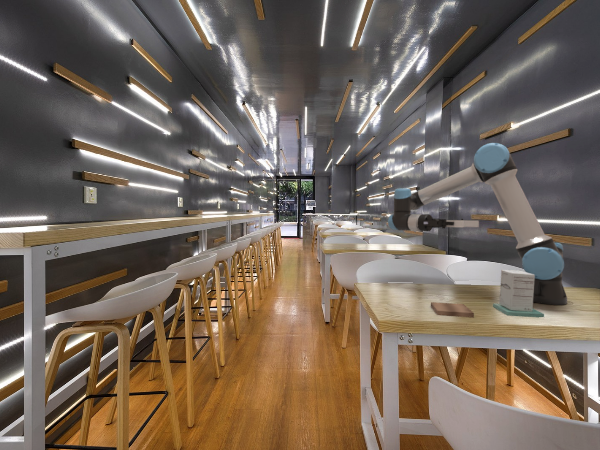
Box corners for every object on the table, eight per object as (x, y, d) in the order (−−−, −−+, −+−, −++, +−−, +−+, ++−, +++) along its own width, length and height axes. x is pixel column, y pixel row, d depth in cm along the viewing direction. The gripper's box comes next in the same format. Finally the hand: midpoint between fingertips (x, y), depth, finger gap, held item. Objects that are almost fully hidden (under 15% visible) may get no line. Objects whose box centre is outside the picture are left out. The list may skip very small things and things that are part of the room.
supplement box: (498, 304, 115) (500, 269, 115) (520, 305, 114) (522, 270, 114) (509, 310, 108) (511, 272, 107) (533, 311, 107) (535, 274, 107)
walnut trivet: (463, 309, 115) (463, 304, 115) (473, 319, 104) (473, 313, 104) (430, 307, 117) (430, 302, 117) (437, 316, 106) (437, 310, 106)
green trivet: (526, 310, 116) (526, 305, 116) (543, 320, 105) (544, 314, 105) (492, 308, 117) (493, 303, 117) (507, 317, 107) (507, 311, 107)
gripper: (435, 230, 150) (483, 232, 134) (405, 231, 135) (456, 234, 118) (435, 214, 150) (484, 214, 134) (405, 213, 134) (456, 213, 118)
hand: (471, 223), depth 126 cm, fingers open, 13 cm apart
